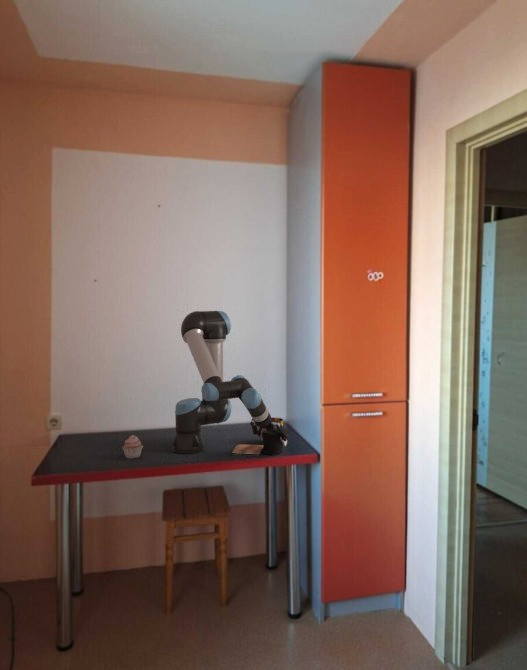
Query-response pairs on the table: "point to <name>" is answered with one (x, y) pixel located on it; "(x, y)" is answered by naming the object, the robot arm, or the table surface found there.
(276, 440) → the pen holder
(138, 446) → the cupcake
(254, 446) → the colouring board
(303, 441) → the table surface
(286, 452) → the table surface
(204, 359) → the robot arm
